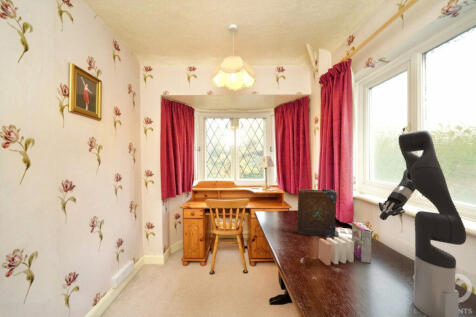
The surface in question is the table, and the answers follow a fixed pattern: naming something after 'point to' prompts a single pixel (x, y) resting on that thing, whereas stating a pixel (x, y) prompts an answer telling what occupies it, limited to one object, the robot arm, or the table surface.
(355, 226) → the candy bar box
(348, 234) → the white brass knuckles
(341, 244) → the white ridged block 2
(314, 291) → the table surface
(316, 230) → the decorative book
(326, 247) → the domino
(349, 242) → the domino
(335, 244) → the domino
